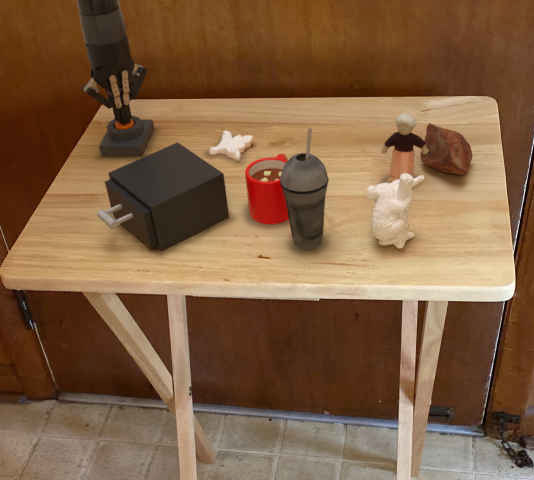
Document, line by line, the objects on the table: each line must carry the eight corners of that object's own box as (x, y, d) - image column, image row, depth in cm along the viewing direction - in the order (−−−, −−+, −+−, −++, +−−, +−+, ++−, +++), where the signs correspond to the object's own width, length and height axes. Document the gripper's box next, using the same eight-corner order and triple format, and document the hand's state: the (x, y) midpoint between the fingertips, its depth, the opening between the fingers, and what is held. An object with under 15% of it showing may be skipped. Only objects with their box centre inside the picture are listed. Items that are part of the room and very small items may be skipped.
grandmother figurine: (382, 188, 139) (383, 121, 130) (379, 176, 141) (381, 109, 133) (427, 185, 138) (432, 118, 130) (424, 173, 141) (428, 106, 132)
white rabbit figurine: (420, 228, 129) (424, 163, 121) (421, 254, 125) (425, 188, 117) (367, 227, 131) (367, 162, 123) (365, 253, 126) (365, 187, 118)
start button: (132, 136, 153) (131, 127, 152) (114, 136, 154) (112, 127, 153) (137, 126, 156) (135, 118, 155) (119, 126, 156) (117, 118, 155)
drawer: (128, 260, 128) (120, 224, 123) (91, 226, 135) (81, 191, 131) (215, 217, 135) (210, 182, 130) (175, 187, 142) (168, 153, 138)
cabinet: (160, 251, 130) (151, 207, 124) (118, 215, 139) (107, 172, 133) (229, 217, 136) (223, 173, 130) (184, 184, 144) (177, 142, 138)
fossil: (473, 174, 133) (451, 117, 131) (425, 193, 137) (403, 138, 135) (481, 161, 144) (461, 108, 142) (437, 178, 148) (416, 127, 146)
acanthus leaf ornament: (224, 136, 156) (223, 127, 154) (257, 141, 153) (256, 133, 152) (206, 155, 151) (204, 146, 150) (238, 161, 148) (237, 152, 147)
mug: (307, 185, 141) (305, 145, 136) (289, 226, 133) (286, 185, 127) (263, 181, 143) (259, 142, 138) (243, 221, 135) (238, 180, 129)
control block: (142, 156, 152) (138, 137, 150) (101, 156, 154) (96, 137, 151) (154, 129, 160) (151, 110, 157) (115, 129, 161) (111, 111, 158)
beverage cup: (285, 229, 132) (276, 118, 119) (330, 227, 132) (326, 115, 118) (284, 257, 127) (275, 143, 113) (331, 255, 126) (327, 141, 113)
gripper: (126, 16, 147) (143, 103, 159) (61, 39, 142) (84, 128, 153) (148, 27, 142) (164, 117, 154) (81, 52, 137) (103, 143, 149)
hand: (124, 122), depth 154 cm, fingers closed
